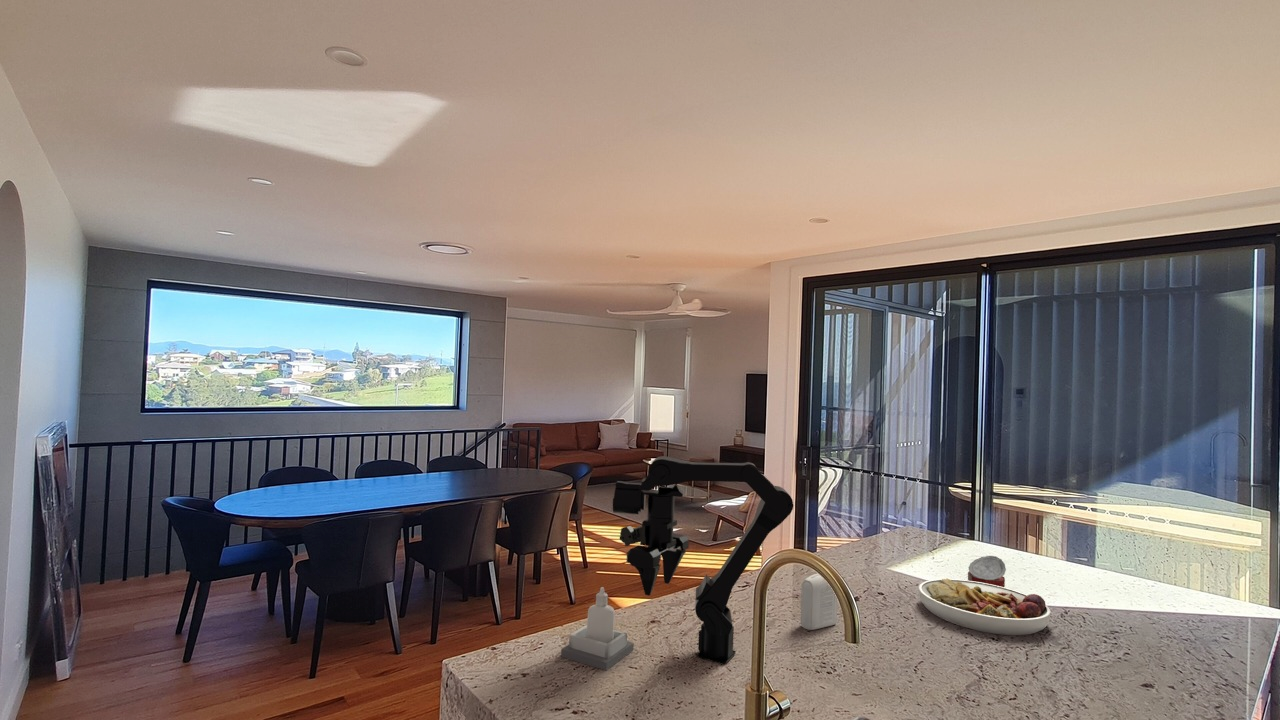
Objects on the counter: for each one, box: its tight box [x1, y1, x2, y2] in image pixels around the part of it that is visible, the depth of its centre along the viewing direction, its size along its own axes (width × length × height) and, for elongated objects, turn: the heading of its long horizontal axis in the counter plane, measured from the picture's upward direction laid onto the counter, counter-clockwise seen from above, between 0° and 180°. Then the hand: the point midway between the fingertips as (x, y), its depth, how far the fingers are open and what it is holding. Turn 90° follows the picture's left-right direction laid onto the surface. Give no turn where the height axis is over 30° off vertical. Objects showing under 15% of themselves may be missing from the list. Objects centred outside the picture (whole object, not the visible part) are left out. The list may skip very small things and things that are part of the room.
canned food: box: [967, 555, 1007, 588], centre depth 185 cm, size 11×10×10 cm
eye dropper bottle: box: [586, 586, 616, 644], centre depth 127 cm, size 4×6×12 cm
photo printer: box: [800, 573, 839, 631], centre depth 148 cm, size 10×4×12 cm, turn 123°
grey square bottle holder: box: [560, 624, 635, 671], centre depth 127 cm, size 11×11×4 cm
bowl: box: [918, 578, 1051, 636], centre depth 159 cm, size 30×30×8 cm
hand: (657, 589), depth 130 cm, fingers open, 9 cm apart
